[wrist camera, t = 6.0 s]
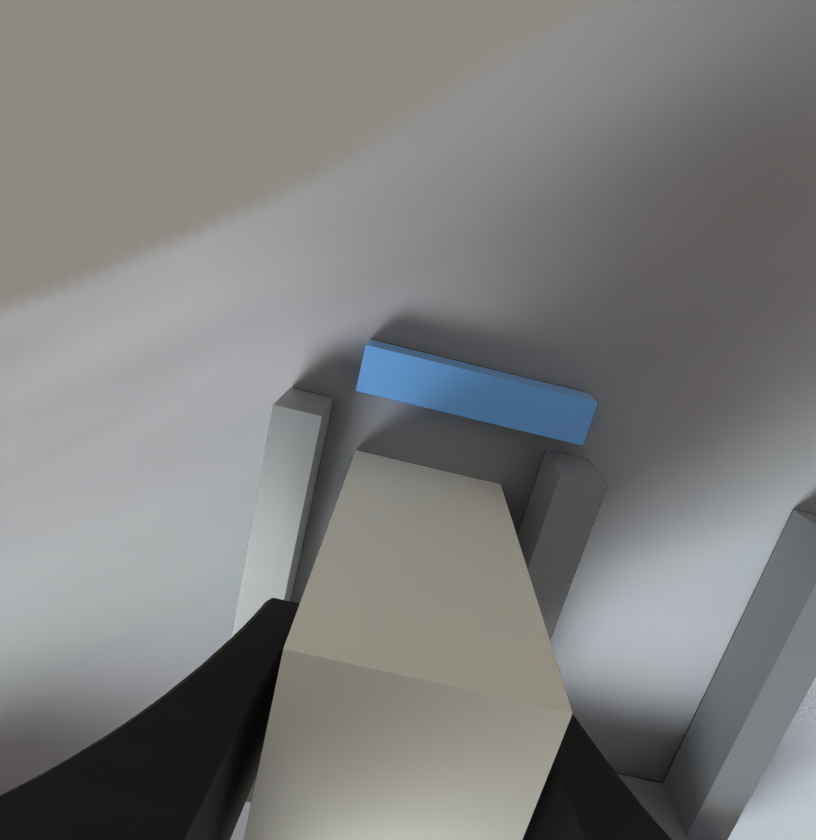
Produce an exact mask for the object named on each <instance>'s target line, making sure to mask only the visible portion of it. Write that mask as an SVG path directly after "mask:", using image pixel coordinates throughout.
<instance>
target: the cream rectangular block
mask: <svg viewBox="0 0 816 840" xmlns="http://www.w3.org/2000/svg"><path fill="white" fill-rule="evenodd" d="M572 714H573V712H572V709H571V706H570V703H569V700H568V697H567V693H566V690H565V687H564V684H563V681H562V678H561V674H560V671H559V668H558V665H557V662H556V658H555V655H554V652H553V649H552V646H551V643H550V639H549V636H548V633H547V630H546V627H545V623H544V620H543V617H542V614H541V611H540V608H539V604H538V601H537V598H536V595H535V592H534V588H533V585H532V582H531V579H530V576H529V573H528V569H527V566H526V563H525V560H524V557H523V553H522V550H521V547H520V544H519V541H518V538H517V534H516V531H515V528H514V525H513V522H512V518H511V515H510V512H509V509H508V506H507V503H506V499H505V496H504V493H503V490H502V487H501V484H497V483H493V482H489V481H485V480H480V479H476V478H472V477H468V476H463V475H459V474H455V473H451V472H446V471H442V470H438V469H434V468H429V467H425V466H421V465H417V464H412V463H408V462H404V461H400V460H395V459H391V458H387V457H383V456H378V455H374V454H370V453H366V452H362V451H357V450H356V451H355V454H354V456H353V459H352V462H351V465H350V467H349V470H348V473H347V476H346V478H345V481H344V484H343V487H342V489H341V492H340V495H339V498H338V500H337V503H336V506H335V509H334V511H333V514H332V517H331V519H330V522H329V525H328V528H327V530H326V533H325V536H324V539H323V541H322V544H321V547H320V550H319V552H318V555H317V558H316V561H315V563H314V566H313V569H312V572H311V574H310V577H309V580H308V583H307V585H306V588H305V591H304V593H303V596H302V599H301V602H300V604H299V607H298V610H297V613H296V615H295V618H294V621H293V624H292V626H291V629H290V632H289V635H288V637H287V640H286V643H285V646H284V648H283V653H282V658H281V662H280V667H279V672H278V677H277V681H276V686H275V691H274V696H273V701H272V705H271V710H270V715H269V720H268V725H267V729H266V734H265V739H264V744H263V749H262V753H261V758H260V763H259V768H258V773H257V777H256V782H255V787H254V792H253V797H252V801H251V806H250V811H249V816H248V821H247V825H246V830H245V835H244V840H523V837H524V835H525V832H526V830H527V827H528V825H529V822H530V820H531V817H532V815H533V812H534V809H535V807H536V804H537V802H538V799H539V797H540V794H541V792H542V789H543V787H544V784H545V782H546V779H547V777H548V774H549V772H550V769H551V767H552V764H553V762H554V759H555V757H556V754H557V752H558V749H559V747H560V744H561V742H562V739H563V737H564V734H565V732H566V729H567V727H568V724H569V721H570V719H571V716H572Z"/></svg>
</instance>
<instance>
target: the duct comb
mask: <svg viewBox="0 0 816 840" xmlns="http://www.w3.org/2000/svg"><path fill="white" fill-rule="evenodd" d="M333 399H334V398H331V397H327V396H323V395H318V394H314V393H310V392H306V391H302V390H298V389H294V388H290V389H289V390H288V391H287V392H286V393H285V394H284V395H283V396H282V397H281V398H280V399H279V400H278V401H277V402H275V403H274V404H273V409H272V415H271V420H270V426H269V431H268V437H267V443H266V448H265V454H264V459H263V465H262V470H261V476H260V481H259V487H258V492H257V498H256V503H255V509H254V515H253V520H252V526H251V531H250V537H249V542H248V548H247V553H246V559H245V564H244V570H243V575H242V581H241V587H240V592H239V598H238V603H237V609H236V614H235V620H234V625H233V631H232V636H231V638H232V637H233V636H234V635H235V634H236V633H237V632H238V631H239V630H240V629H241V628H242V627H243V626H244V625H245V624H246V623H247V622H248V621H249V620H250V619H251V618H252V617H253V616H254V614H255V613H256V612H257V611H258V610H259V609H260V608H261V607H262V605H263V604H264V603H265V602H266V601H267V600H269V599H271V598H277V599H281V600H286V601H290V602H291V598H292V593H293V588H294V584H295V579H296V574H297V570H298V565H299V560H300V555H301V551H302V546H303V541H304V536H305V532H306V527H307V522H308V517H309V513H310V508H311V503H312V499H313V494H314V489H315V484H316V480H317V475H318V470H319V465H320V461H321V456H322V451H323V446H324V442H325V437H326V432H327V428H328V423H329V418H330V413H331V409H332V404H333ZM606 488H607V484H606V482H605V481H604V480H603V478H602V477H601V476H600V475H599V473H598V472H597V471H596V469H595V468H594V467H593V466H592V464H591V463H590V462H589V460H587V459H583V458H579V457H575V456H570V455H566V454H562V453H558V452H554V451H550V450H546V452H545V455H544V458H543V461H542V464H541V467H540V470H539V473H538V476H537V479H536V482H535V485H534V488H533V491H532V494H531V497H530V500H529V503H528V506H527V509H526V512H525V515H524V518H523V521H522V524H521V527H520V530H519V533H518V536H517V538H518V541H519V544H520V547H521V550H522V553H523V557H524V560H525V563H526V566H527V569H528V573H529V576H530V579H531V582H532V585H533V588H534V592H535V595H536V598H537V601H538V604H539V608H540V611H541V614H542V617H543V620H544V623H545V627H546V630H547V633H548V636H549V639H551V637H552V634H553V631H554V628H555V626H556V623H557V620H558V618H559V615H560V612H561V610H562V607H563V604H564V601H565V599H566V596H567V593H568V591H569V588H570V585H571V583H572V580H573V577H574V574H575V572H576V569H577V566H578V564H579V561H580V558H581V556H582V553H583V550H584V547H585V545H586V542H587V539H588V537H589V534H590V531H591V529H592V526H593V523H594V521H595V518H596V515H597V512H598V510H599V507H600V504H601V502H602V499H603V496H604V494H605V491H606ZM815 676H816V515H814V514H810V513H806V512H802V511H798V510H793V512H792V514H791V516H790V518H789V520H788V522H787V524H786V526H785V528H784V531H783V533H782V535H781V537H780V539H779V541H778V543H777V545H776V547H775V549H774V551H773V554H772V556H771V558H770V560H769V562H768V564H767V566H766V568H765V570H764V572H763V574H762V577H761V579H760V581H759V583H758V585H757V587H756V589H755V591H754V593H753V595H752V597H751V600H750V602H749V604H748V606H747V608H746V610H745V612H744V614H743V616H742V618H741V620H740V623H739V625H738V627H737V629H736V631H735V633H734V635H733V637H732V639H731V641H730V643H729V646H728V648H727V650H726V652H725V654H724V656H723V658H722V660H721V662H720V664H719V666H718V669H717V671H716V673H715V675H714V677H713V679H712V681H711V683H710V685H709V687H708V689H707V692H706V694H705V696H704V698H703V700H702V702H701V704H700V706H699V708H698V710H697V712H696V715H695V717H694V719H693V721H692V723H691V725H690V727H689V729H688V731H687V733H686V735H685V738H684V740H683V742H682V744H681V746H680V748H679V750H678V752H677V754H676V756H675V758H674V761H673V763H672V765H671V767H670V769H669V771H668V773H667V775H666V777H665V779H664V781H663V784H662V783H658V782H653V781H649V780H644V779H640V778H635V777H631V776H626V775H622V774H617V773H616V774H617V775H618V776H619V777H620V779H621V780H622V781H623V782H624V784H625V785H626V786H627V787H628V789H629V790H630V791H631V792H632V794H633V795H634V796H635V797H636V799H637V800H638V801H639V802H640V804H641V805H642V806H643V807H644V808H645V810H646V811H647V812H648V813H649V814H650V815H651V817H652V818H653V819H654V820H655V821H656V822H657V824H658V825H659V826H660V827H661V828H662V829H663V830H664V831H665V833H666V834H667V835H668V836H669V837H670V838H671V839H672V840H727V839H728V838H729V836H730V834H731V832H732V830H733V828H734V826H735V825H736V823H737V821H738V819H739V817H740V815H741V813H742V812H743V810H744V808H745V806H746V804H747V802H748V800H749V799H750V797H751V795H752V793H753V791H754V789H755V788H756V786H757V784H758V782H759V780H760V778H761V776H762V775H763V773H764V771H765V769H766V767H767V765H768V763H769V762H770V760H771V758H772V756H773V754H774V752H775V751H776V749H777V747H778V745H779V743H780V741H781V739H782V738H783V736H784V734H785V732H786V730H787V728H788V726H789V725H790V723H791V721H792V719H793V717H794V715H795V713H796V712H797V710H798V708H799V706H800V704H801V702H802V701H803V699H804V697H805V695H806V693H807V691H808V689H809V688H810V686H811V684H812V682H813V680H814V678H815ZM256 777H257V776H256ZM255 782H256V778H255V780H254V783H253V785H252V788H251V790H250V793H249V795H248V798H247V800H246V802H245V805H244V807H243V810H242V812H241V815H240V817H239V819H238V822H237V824H236V827H235V829H234V832H233V834H232V836H231V839H230V840H244V835H245V830H246V825H247V821H248V816H249V811H250V806H251V801H252V797H253V792H254V787H255Z"/></svg>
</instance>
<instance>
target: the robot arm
mask: <svg viewBox="0 0 816 840" xmlns="http://www.w3.org/2000/svg"><path fill="white" fill-rule="evenodd" d="M298 607H299V603H295V602H290V601H286V600H281V599H277V598H271V599H269V600H267V601H266V602H265V603H264V604H263V605H262V607H261V608H260V609H259V610H258V611H257V612H256V613H255V614H254V616H253V617H252V618H251V619H250V620H249V621H248V622H247V623H246V624H245V625H244V626H243V627H242V628H241V629H240V630H239V631H238V632H237V633H236V634H235V635H234V636H233V637H232V638H231V639H230V640H229V641H228V642H226V643H225V644H224V645H223V646H222V647H221V648H220V649H219V650H218V651H216V652H215V653H214V654H213V655H212V656H211V657H210V658H209V659H208V660H207V661H205V662H204V663H203V664H202V665H201V666H200V667H199V668H197V669H196V670H195V671H194V672H192V673H191V674H190V675H189V676H187V677H186V678H185V679H184V680H182V681H181V682H180V683H179V684H177V685H176V686H175V687H174V688H172V689H171V690H170V691H169V692H168V693H166V694H165V695H164V696H162V697H161V698H160V699H158V700H157V701H156V702H154V703H153V704H152V705H150V706H149V707H148V708H146V709H145V710H143V711H142V712H141V713H139V714H138V715H136V716H135V717H133V718H132V719H130V720H129V721H127V722H126V723H125V724H123V725H122V726H120V727H119V728H117V729H116V730H114V731H113V732H111V733H110V734H108V735H106V736H105V737H103V738H102V739H100V740H98V741H97V742H95V743H93V744H92V745H90V746H89V747H87V748H85V749H84V750H82V751H81V752H79V753H77V754H76V755H74V756H72V757H71V758H69V759H67V760H66V761H64V762H62V763H60V764H59V765H57V766H55V767H54V768H52V769H50V770H48V771H46V772H45V773H43V774H41V775H39V776H37V777H35V778H34V779H32V780H30V781H28V782H26V783H24V784H22V785H20V786H18V787H16V788H14V789H12V790H10V791H8V792H6V793H5V794H3V795H1V796H0V840H230V839H231V836H232V834H233V832H234V829H235V827H236V824H237V822H238V819H239V817H240V815H241V812H242V810H243V807H244V805H245V802H246V800H247V798H248V795H249V793H250V790H251V788H252V785H253V783H254V780H255V778H256V776H257V773H258V768H259V763H260V758H261V753H262V749H263V744H264V739H265V734H266V729H267V725H268V720H269V715H270V710H271V705H272V701H273V696H274V691H275V686H276V681H277V677H278V672H279V667H280V662H281V658H282V653H283V648H284V646H285V643H286V640H287V637H288V635H289V632H290V629H291V626H292V624H293V621H294V618H295V615H296V613H297V610H298ZM523 840H672V839H671V838H670V837H669V836H668V835H667V834H666V833H665V831H664V830H663V829H662V828H661V827H660V826H659V825H658V824H657V822H656V821H655V820H654V819H653V818H652V817H651V815H650V814H649V813H648V812H647V811H646V810H645V808H644V807H643V806H642V805H641V804H640V802H639V801H638V800H637V799H636V797H635V796H634V795H633V794H632V792H631V791H630V790H629V789H628V787H627V786H626V785H625V784H624V782H623V781H622V780H621V779H620V777H619V776H618V775H617V774H616V772H615V771H614V770H613V768H612V767H611V766H610V764H609V763H608V762H607V761H606V759H605V758H604V757H603V755H602V754H601V753H600V751H599V750H598V748H597V747H596V746H595V744H594V743H593V742H592V740H591V739H590V738H589V736H588V735H587V733H586V732H585V731H584V729H583V728H582V726H581V725H580V723H579V722H578V721H577V719H576V718H575V716H574V715H573V714H572V716H571V719H570V721H569V724H568V727H567V729H566V732H565V734H564V737H563V739H562V742H561V744H560V747H559V749H558V752H557V754H556V757H555V759H554V762H553V764H552V767H551V769H550V772H549V774H548V777H547V779H546V782H545V784H544V787H543V789H542V792H541V794H540V797H539V799H538V802H537V804H536V807H535V809H534V812H533V815H532V817H531V820H530V822H529V825H528V827H527V830H526V832H525V835H524V837H523Z"/></svg>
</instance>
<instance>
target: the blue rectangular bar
mask: <svg viewBox="0 0 816 840" xmlns="http://www.w3.org/2000/svg"><path fill="white" fill-rule="evenodd" d="M356 391H359V392H363V393H367V394H371V395H375V396H379V397H384V398H388V399H392V400H396V401H400V402H404V403H408V404H412V405H416V406H421V407H425V408H429V409H433V410H437V411H441V412H445V413H449V414H454V415H458V416H462V417H466V418H470V419H474V420H478V421H482V422H486V423H491V424H495V425H499V426H503V427H507V428H511V429H515V430H519V431H524V432H528V433H532V434H536V435H540V436H544V437H548V438H552V439H556V440H561V441H565V442H569V443H573V444H577V445H581V446H583V445H584V442H585V439H586V436H587V433H588V431H589V428H590V425H591V422H592V419H593V416H594V413H595V411H596V408H597V405H598V401H597V400H595V399H594V398H593V397H592V396H591V395H590V394H589V393H586V392H582V391H578V390H573V389H569V388H565V387H561V386H557V385H553V384H549V383H545V382H541V381H537V380H533V379H529V378H525V377H521V376H517V375H513V374H509V373H504V372H500V371H496V370H492V369H488V368H484V367H480V366H476V365H472V364H468V363H464V362H460V361H456V360H452V359H448V358H444V357H440V356H435V355H431V354H427V353H423V352H419V351H415V350H411V349H407V348H403V347H399V346H395V345H391V344H387V343H383V342H379V341H375V340H371V339H369V341H368V342H367V344H366V346H365V351H364V355H363V360H362V364H361V369H360V373H359V378H358V382H357V387H356Z"/></svg>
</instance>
